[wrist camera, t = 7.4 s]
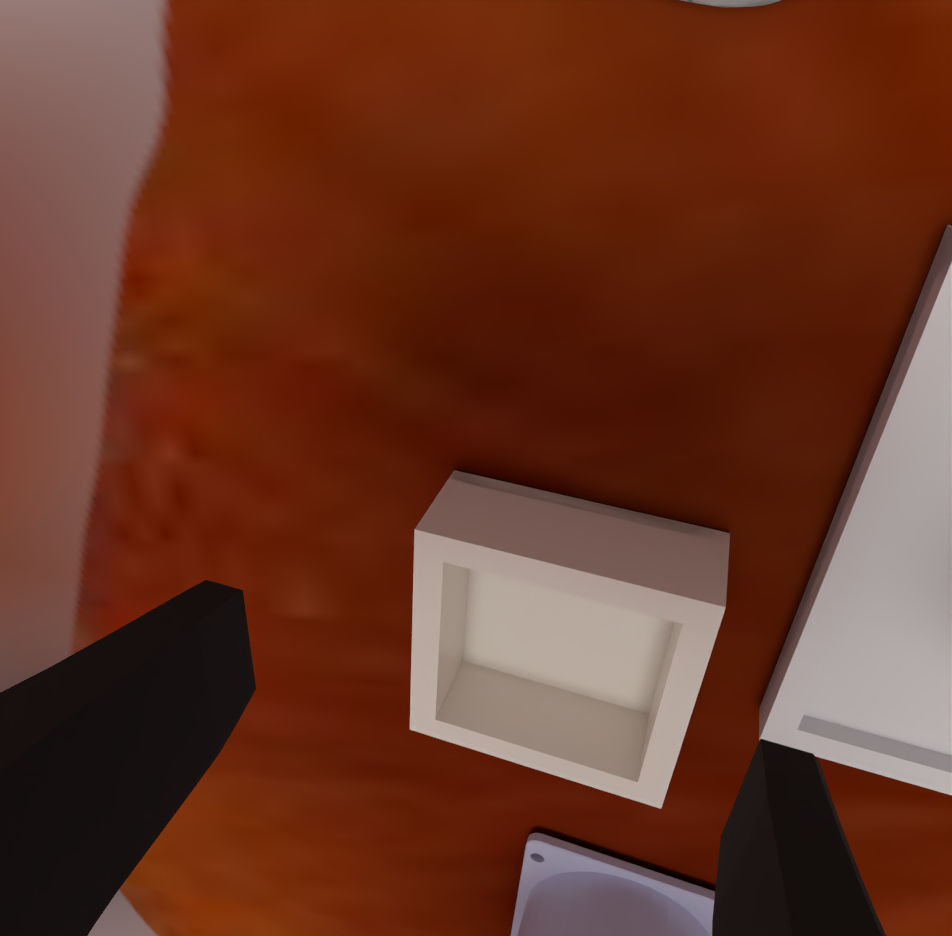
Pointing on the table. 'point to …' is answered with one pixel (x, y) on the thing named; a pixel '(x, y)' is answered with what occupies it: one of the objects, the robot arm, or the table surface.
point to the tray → (884, 581)
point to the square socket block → (562, 631)
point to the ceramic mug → (733, 2)
